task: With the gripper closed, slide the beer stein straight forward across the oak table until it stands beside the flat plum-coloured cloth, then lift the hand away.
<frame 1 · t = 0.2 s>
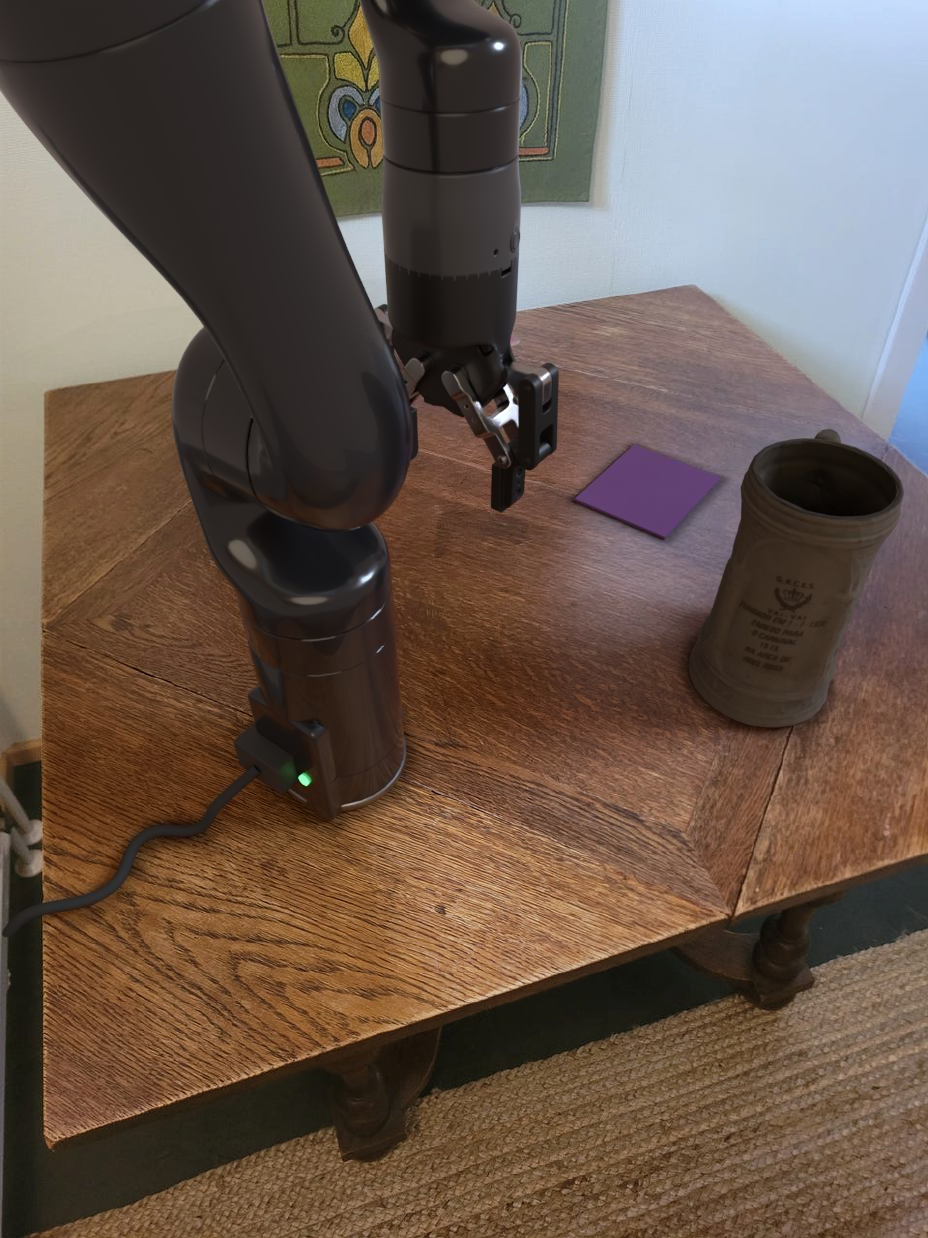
hand: (453, 482, 60), 17 cm above the table, tool pointing down, fingers open, 8 cm apart
lily: (465, 372, 105), on the table
beer stein: (754, 657, 72), on the table
cloth: (648, 490, 88), on the table
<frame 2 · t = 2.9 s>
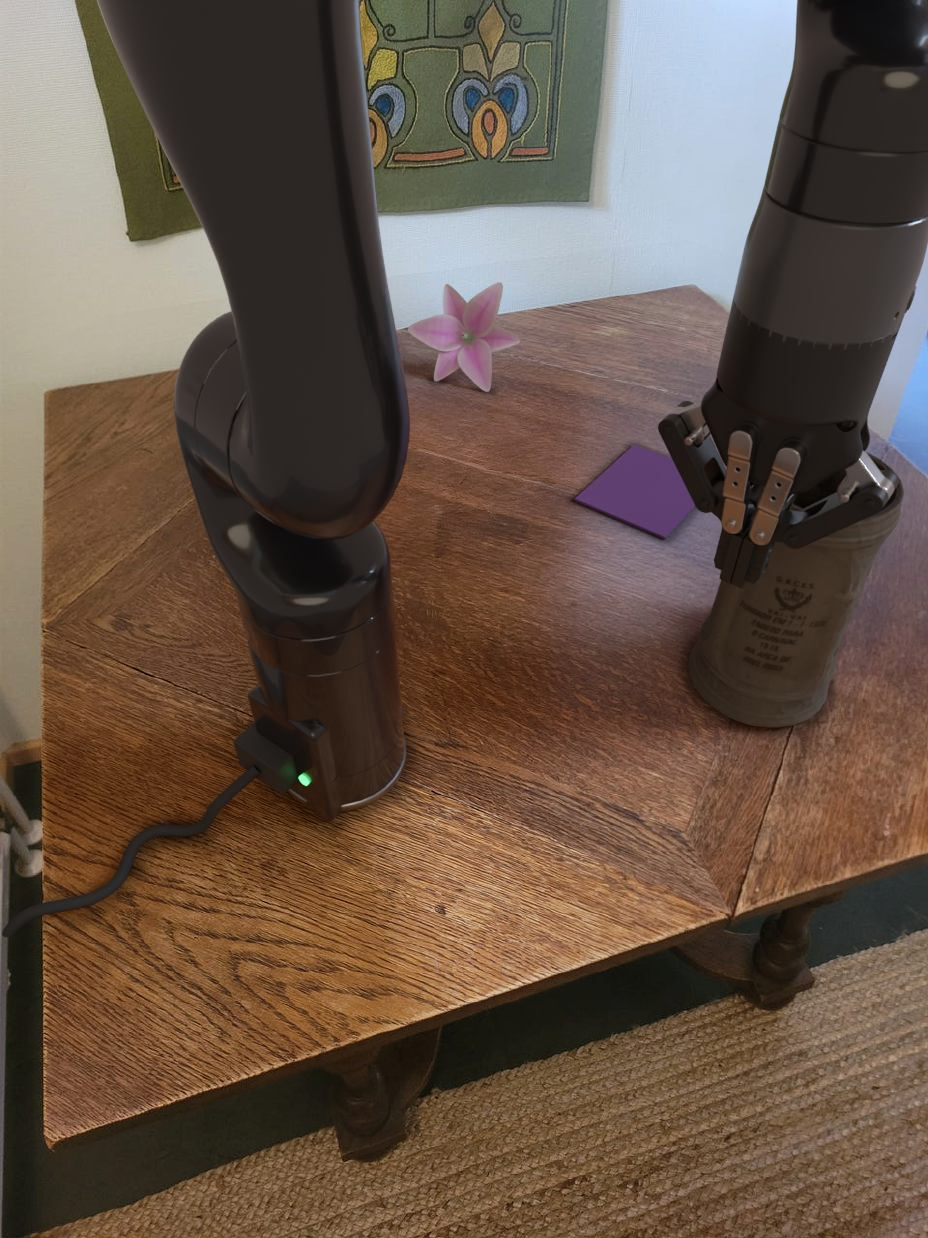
hand: (737, 576, 52), 18 cm above the table, tool pointing down, fingers closed
nothing on the table moved.
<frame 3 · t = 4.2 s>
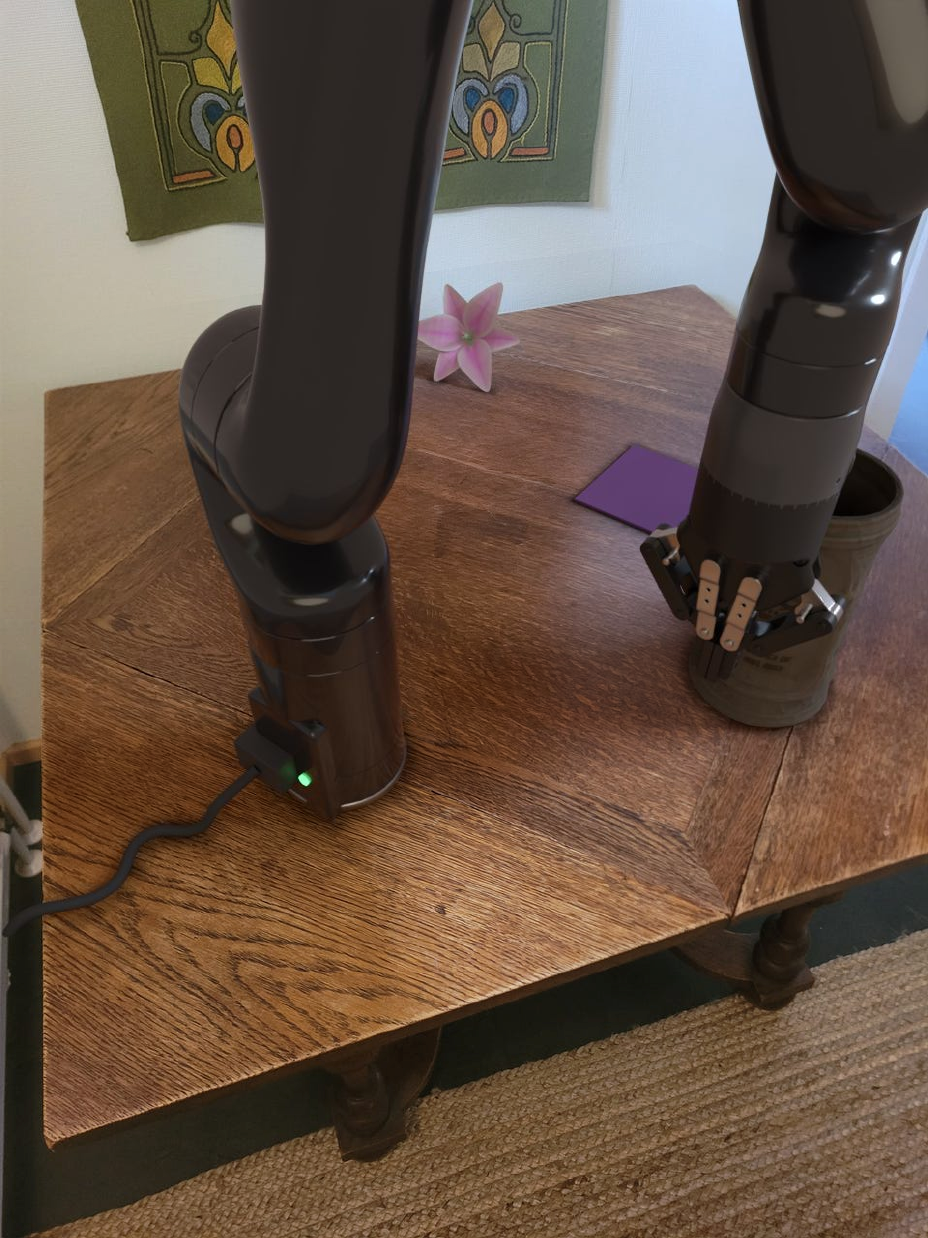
hand: (711, 672, 59), 9 cm above the table, tool pointing down, fingers closed
nothing on the table moved.
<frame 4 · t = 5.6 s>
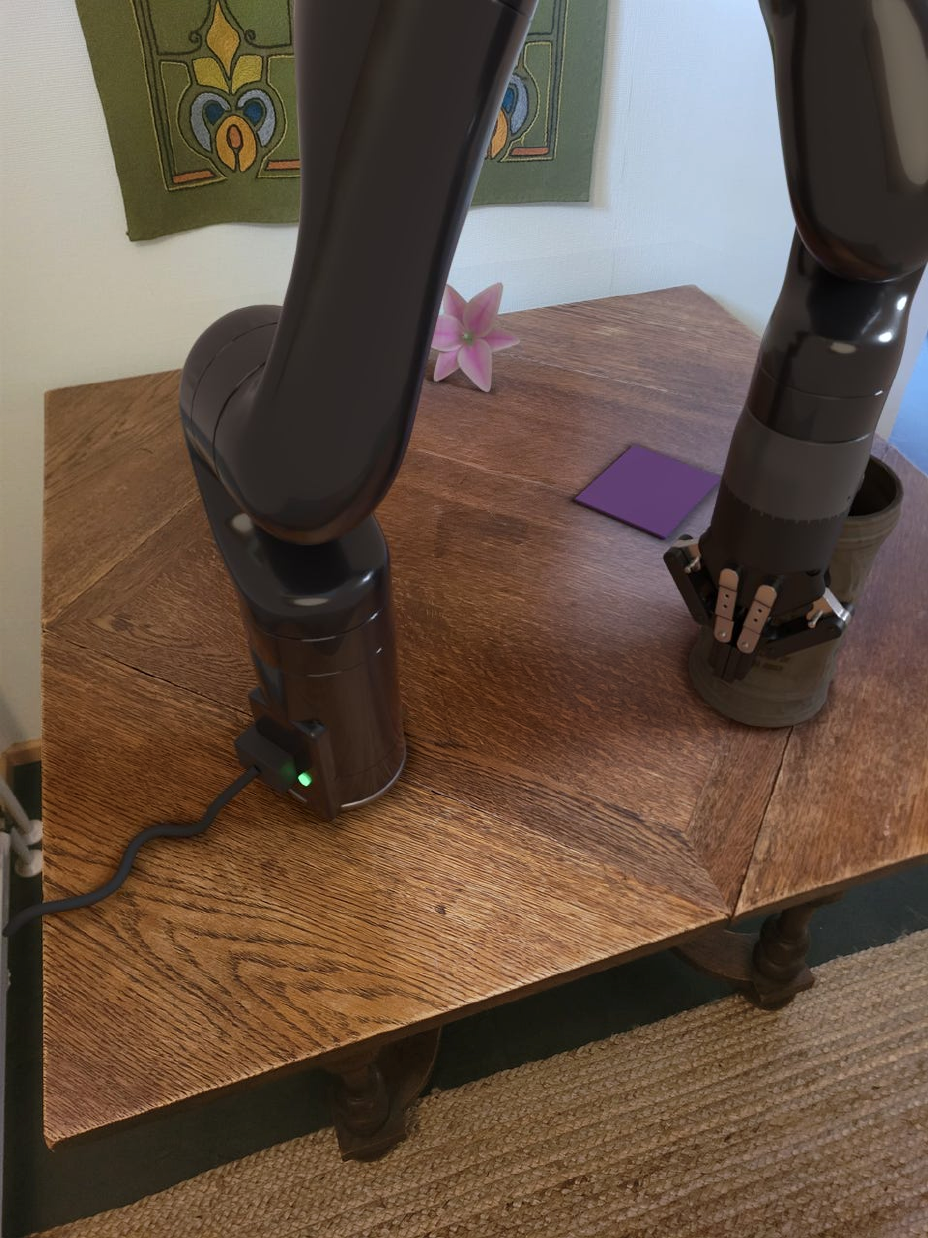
hand: (727, 673, 63), 5 cm above the table, tool pointing down, fingers closed
beer stein: (754, 657, 72), on the table, touching gripper
everything else where it was.
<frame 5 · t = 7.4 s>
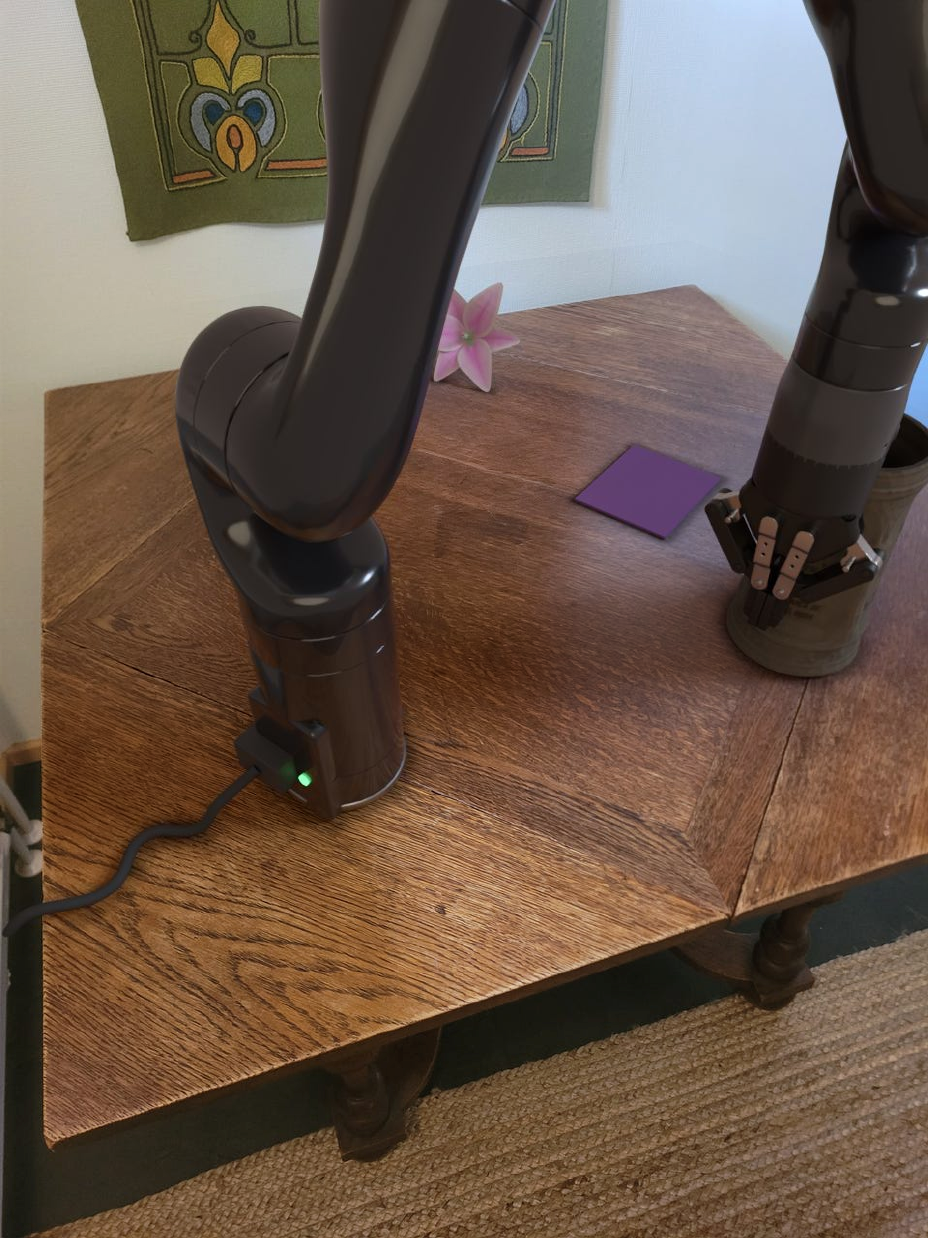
hand: (761, 621, 67), 5 cm above the table, tool pointing down, fingers closed
beer stein: (791, 614, 75), on the table, touching gripper
everything else where it was.
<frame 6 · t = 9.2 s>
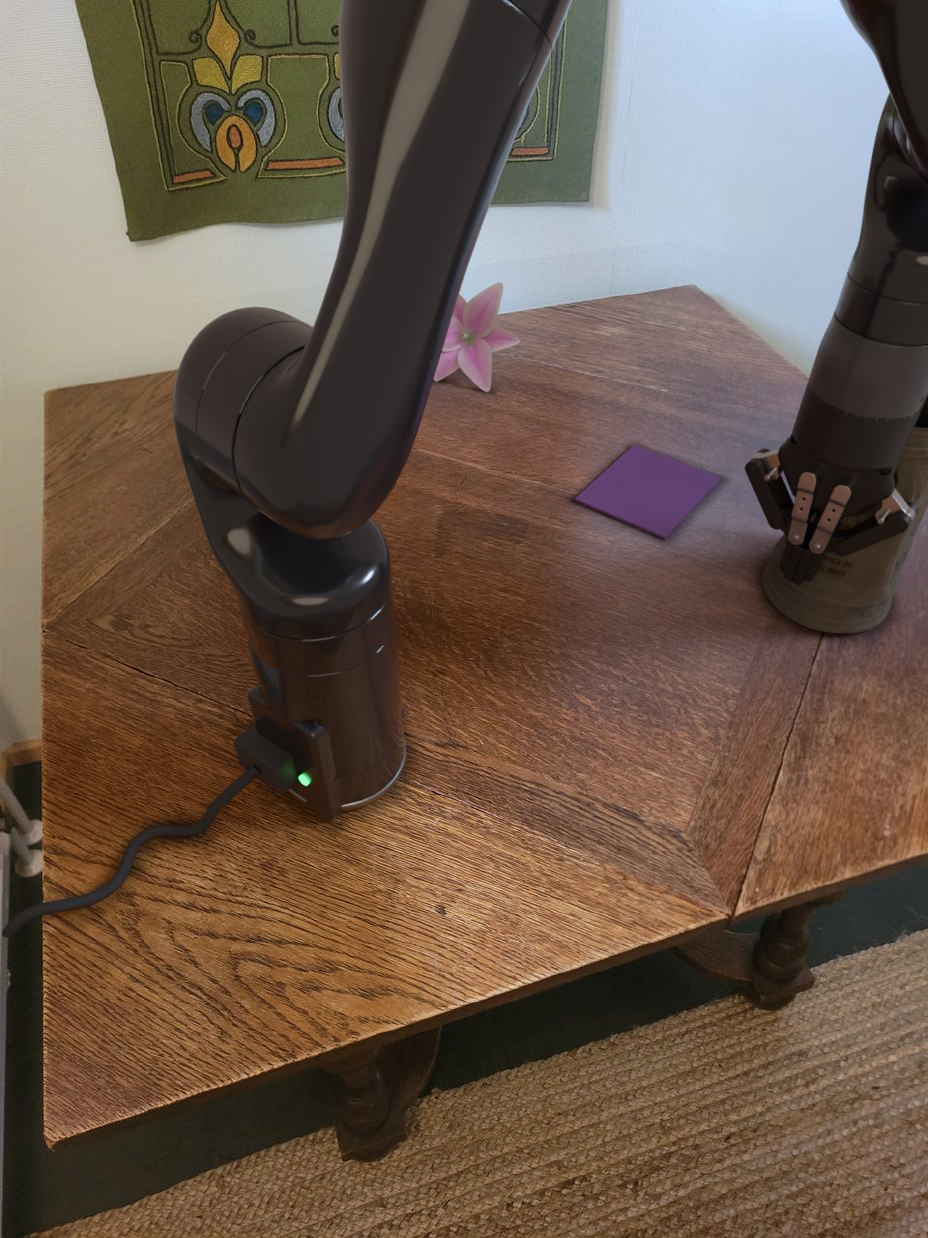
hand: (796, 577, 71), 5 cm above the table, tool pointing down, fingers closed
beer stein: (825, 577, 79), on the table, touching gripper, hand
everything else where it was.
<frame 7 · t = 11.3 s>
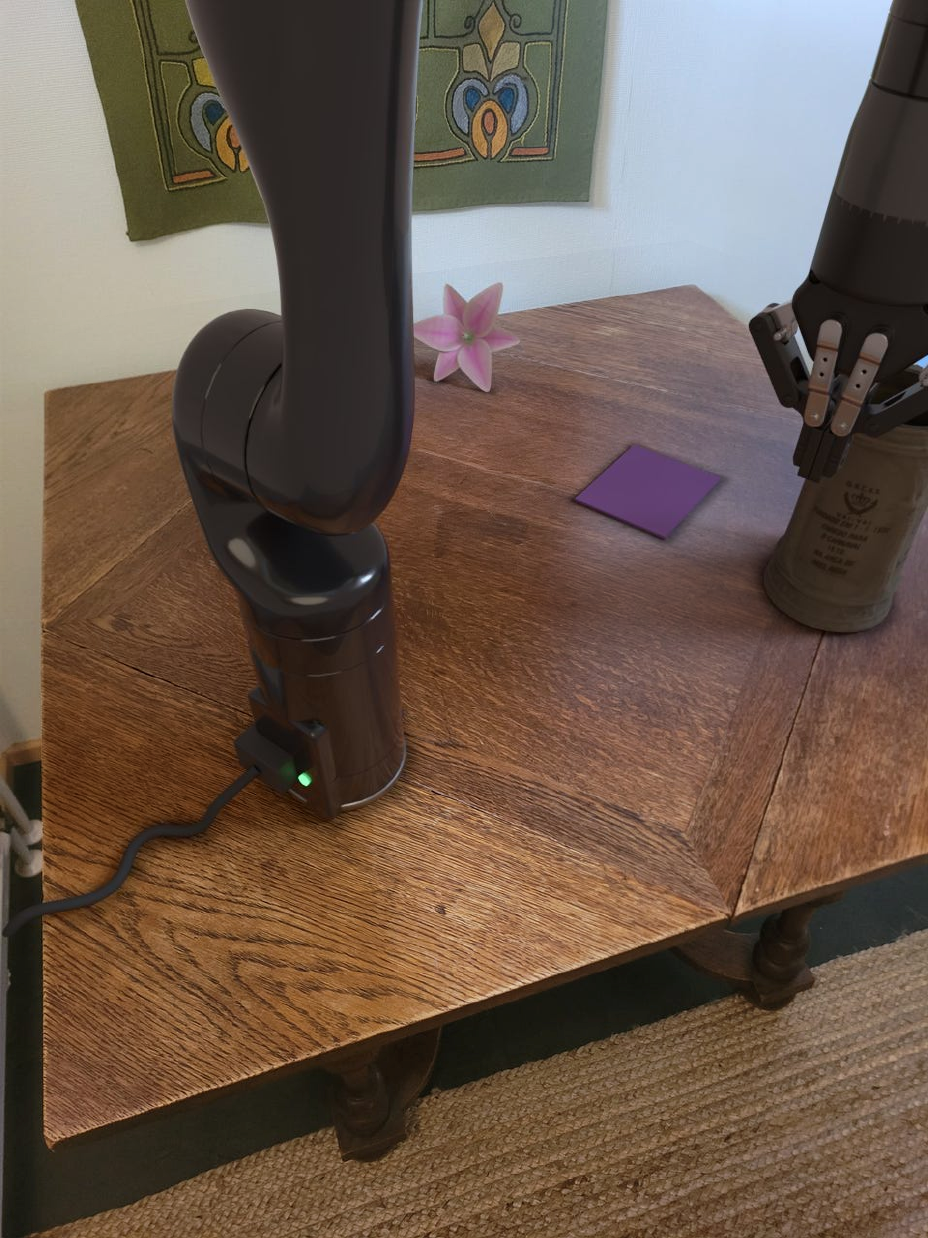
hand: (813, 474, 56), 20 cm above the table, tool pointing down, fingers closed
beer stein: (826, 576, 79), on the table
everything else where it was.
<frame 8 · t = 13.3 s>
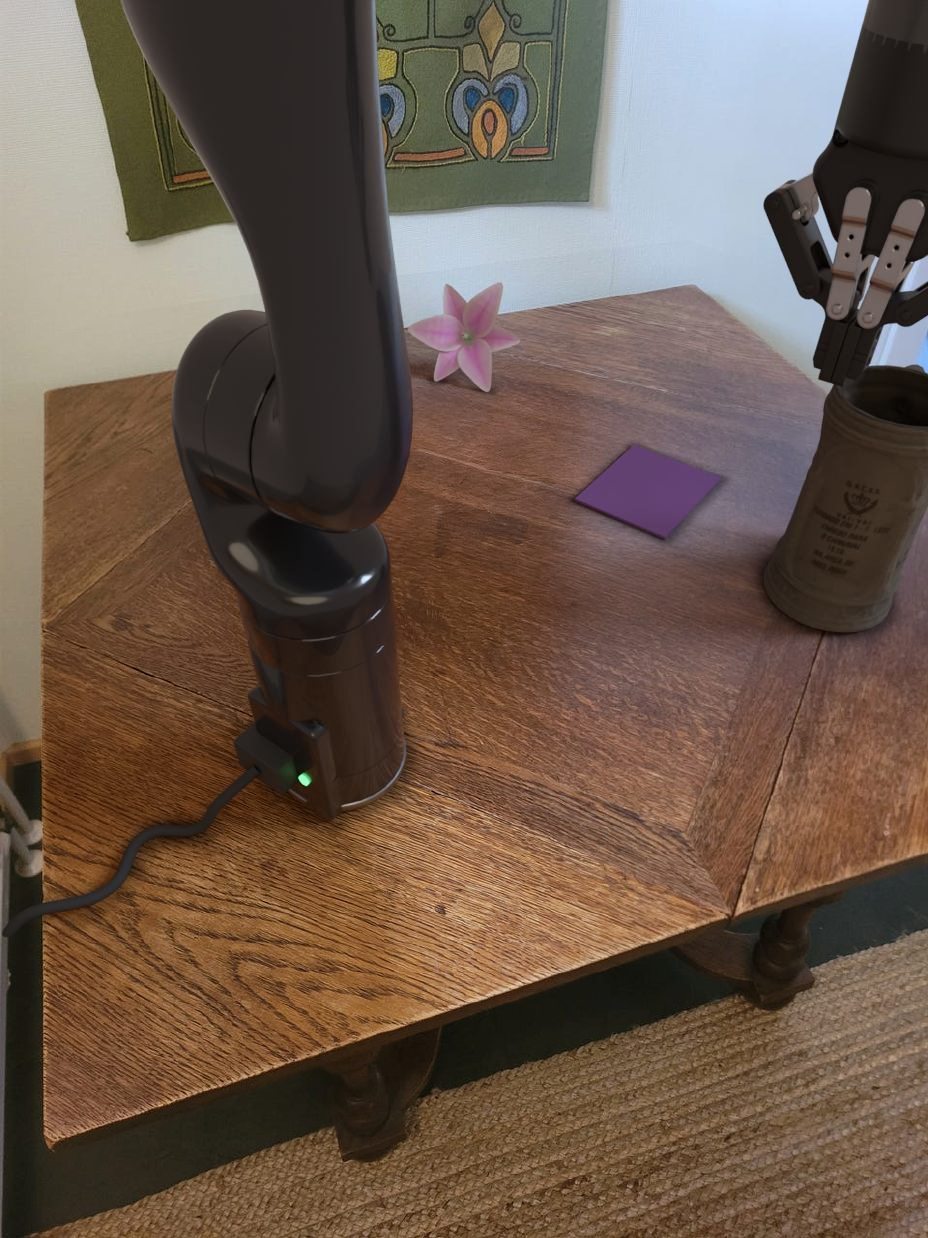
hand: (836, 378, 51), 27 cm above the table, tool pointing down, fingers closed
nothing on the table moved.
at the end: beer stein 19.1 cm from the cloth (horizontally); beer stein tilted 1°; beer stein moved 13.4 cm from its start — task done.
